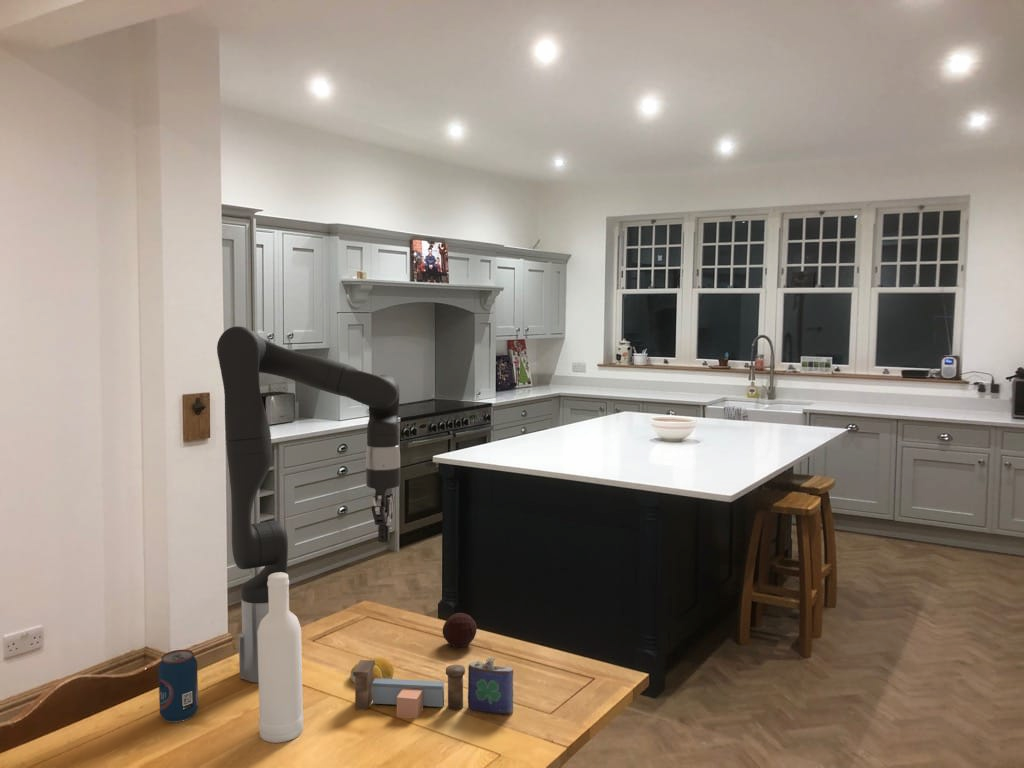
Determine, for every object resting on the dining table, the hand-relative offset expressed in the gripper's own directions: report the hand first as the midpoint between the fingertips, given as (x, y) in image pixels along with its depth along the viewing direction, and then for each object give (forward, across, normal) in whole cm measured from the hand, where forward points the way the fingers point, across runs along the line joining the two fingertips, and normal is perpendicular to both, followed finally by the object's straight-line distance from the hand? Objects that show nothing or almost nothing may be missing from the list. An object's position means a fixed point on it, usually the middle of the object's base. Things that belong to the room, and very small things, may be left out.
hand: (384, 541), depth 181 cm
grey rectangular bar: (+27, -22, -10) cm, 36 cm away
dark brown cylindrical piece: (+27, -22, -19) cm, 40 cm away
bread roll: (+27, -10, 0) cm, 29 cm away
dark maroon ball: (+27, +8, -16) cm, 33 cm away
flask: (+27, -23, -26) cm, 44 cm away
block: (+27, -25, -10) cm, 38 cm away
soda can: (+27, -29, +34) cm, 52 cm away
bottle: (+27, -34, +12) cm, 45 cm away
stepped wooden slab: (+27, -22, -1) cm, 35 cm away
